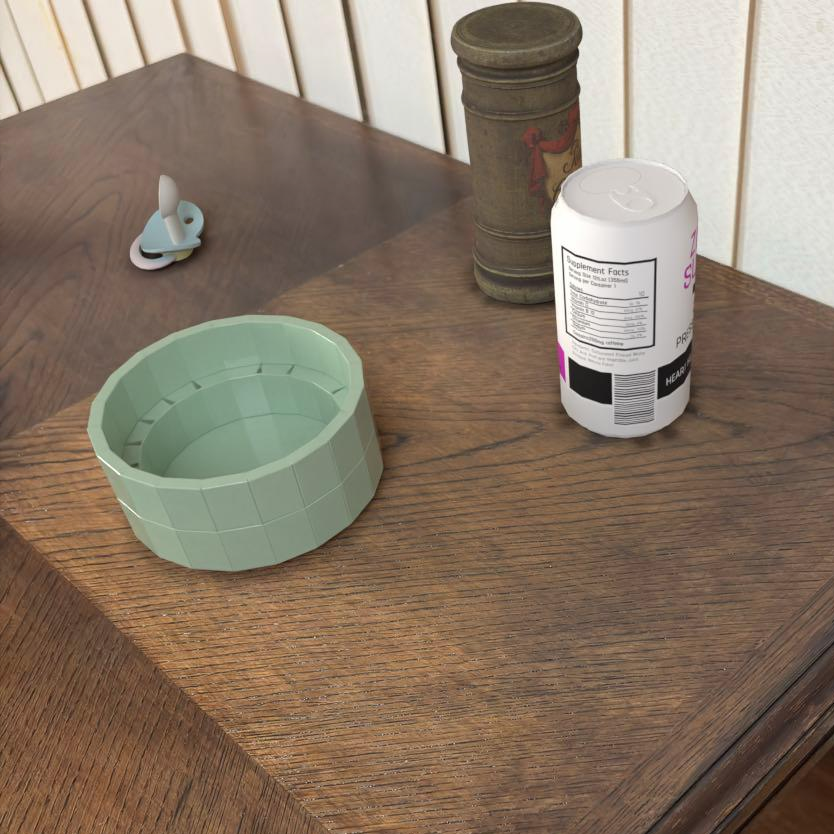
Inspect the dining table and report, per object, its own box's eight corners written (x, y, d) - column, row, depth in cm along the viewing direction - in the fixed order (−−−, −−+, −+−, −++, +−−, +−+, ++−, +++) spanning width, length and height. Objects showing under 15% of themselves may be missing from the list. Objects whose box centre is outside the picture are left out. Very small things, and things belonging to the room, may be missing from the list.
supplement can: (539, 390, 71) (523, 179, 60) (646, 350, 73) (649, 139, 62) (600, 461, 65) (594, 244, 55) (713, 415, 68) (729, 198, 57)
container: (465, 304, 78) (431, 54, 65) (486, 239, 84) (459, -2, 71) (587, 307, 77) (578, 53, 64) (599, 241, 83) (593, -4, 70)
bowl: (88, 568, 62) (39, 481, 57) (184, 398, 72) (151, 311, 67) (347, 584, 60) (321, 495, 55) (408, 406, 70) (390, 317, 65)
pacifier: (128, 282, 83) (204, 269, 83) (96, 209, 79) (176, 196, 79) (138, 234, 88) (210, 222, 88) (108, 163, 84) (185, 151, 84)
